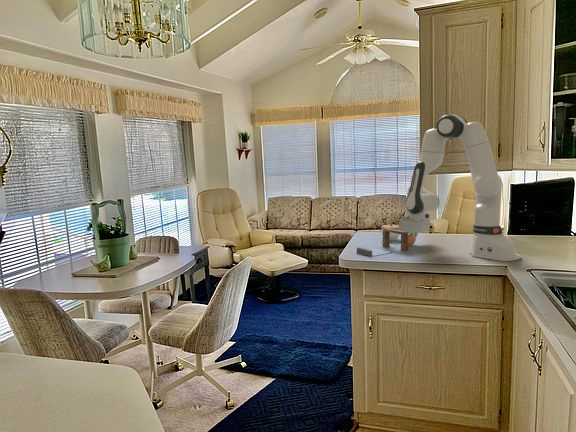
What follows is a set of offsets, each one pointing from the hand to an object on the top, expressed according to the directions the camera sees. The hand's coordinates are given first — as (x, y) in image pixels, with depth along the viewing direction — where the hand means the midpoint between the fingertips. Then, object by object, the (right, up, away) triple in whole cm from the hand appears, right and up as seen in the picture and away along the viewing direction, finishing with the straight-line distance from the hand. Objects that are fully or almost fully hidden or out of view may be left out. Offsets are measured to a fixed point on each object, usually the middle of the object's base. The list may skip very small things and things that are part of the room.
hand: (413, 240), depth 235 cm
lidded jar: (-9, 0, +15) cm, 17 cm away
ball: (-3, 0, -2) cm, 4 cm away
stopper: (-30, -6, -19) cm, 36 cm away
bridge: (-12, -4, -8) cm, 15 cm away
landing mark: (-24, -5, -15) cm, 29 cm away
